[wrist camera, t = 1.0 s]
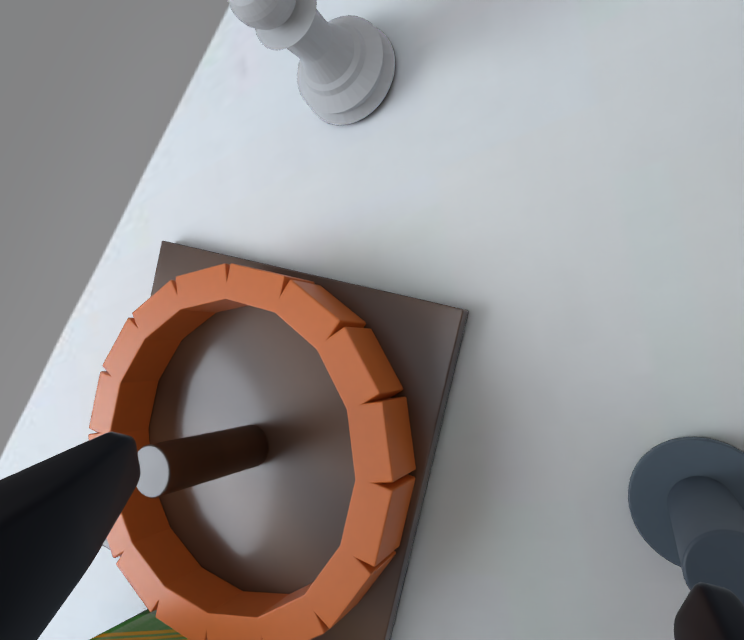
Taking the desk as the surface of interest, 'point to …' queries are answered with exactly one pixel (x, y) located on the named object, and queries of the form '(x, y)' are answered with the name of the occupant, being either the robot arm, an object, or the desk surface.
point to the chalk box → (141, 629)
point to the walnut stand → (285, 437)
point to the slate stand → (693, 508)
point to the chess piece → (326, 55)
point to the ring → (368, 442)
